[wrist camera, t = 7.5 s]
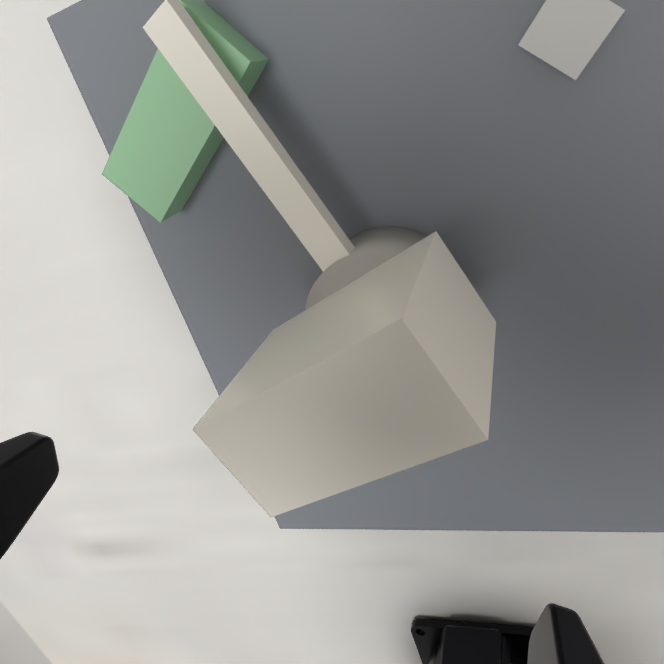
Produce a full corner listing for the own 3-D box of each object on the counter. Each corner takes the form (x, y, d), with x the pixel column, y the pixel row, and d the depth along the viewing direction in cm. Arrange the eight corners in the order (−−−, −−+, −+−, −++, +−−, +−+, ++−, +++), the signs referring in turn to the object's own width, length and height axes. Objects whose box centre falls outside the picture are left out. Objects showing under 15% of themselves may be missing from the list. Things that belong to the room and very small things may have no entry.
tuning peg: (510, 302, 17) (506, 465, 10) (359, 375, 20) (287, 536, 13) (270, -69, 14) (68, -148, 8) (136, 83, 17) (-87, 115, 11)
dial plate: (691, 501, 20) (714, 563, 18) (291, 505, 27) (269, 550, 24) (658, -269, 11) (693, -344, 9) (79, 18, 18) (14, 17, 16)
